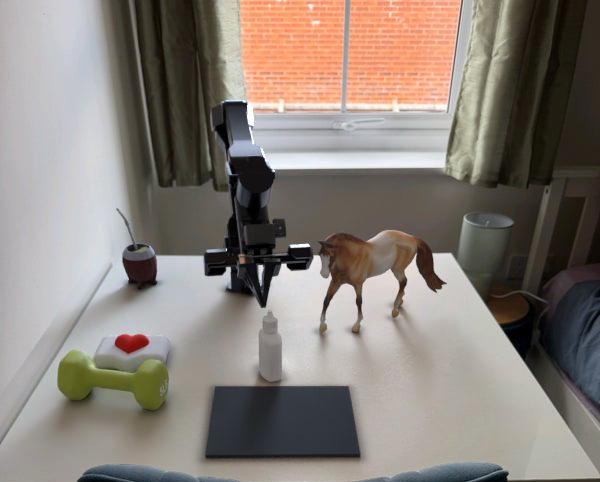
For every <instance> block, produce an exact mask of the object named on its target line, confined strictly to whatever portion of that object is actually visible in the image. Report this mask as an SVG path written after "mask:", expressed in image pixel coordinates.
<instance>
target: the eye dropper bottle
mask: <svg viewBox="0 0 600 482" xmlns="http://www.w3.org/2000/svg"><path fill="white" fill-rule="evenodd" d="M278 321H279V319H278V317H277V316H275V315H274V313H273V310H272V309H268V310H267V312H266V315H265V316H263V317H262V327H261V328H260V329H259V331H258V371H259V374H260V375H261V377H262V378H263V379H265V380H266V381H267V382H269V383H273V382H279V381H281V380H282V379H283V378H282V377H283V337H282V335H281V333H280V331H279V329H278V326H279V325H278Z"/></svg>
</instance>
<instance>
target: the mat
mask: <svg viewBox="0 0 600 482" xmlns="http://www.w3.org/2000/svg"><path fill="white" fill-rule="evenodd" d="M210 411H211V412H210V418H209V424H208V433H207V440H206V448H205V453H204V456H205V459H251V458H252V459H255V458H256V459H258V458H259V459H261V458H263V459H265V458H267V459H271V458H273V459H275V458H281V459H282V458H360V457H361V450H360V444H359V438H358V433H357V426H356V421H355V417H354V409H353V404H352V398H351V392H350V387H349V386H348V385H231V386H230V385H219V386H218V385H215V386H214V390H213V396H212V404H211V410H210Z"/></svg>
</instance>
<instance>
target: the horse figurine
mask: <svg viewBox="0 0 600 482" xmlns="http://www.w3.org/2000/svg"><path fill="white" fill-rule="evenodd" d="M317 243H318V244H319V245H321V247H320V249H319V251H318V253H317V254H318V257H319V258H320V263H321V267H320V268H321V269H320V270H319V274H320V276H321V277H322V278H323V279H329V277H331V280H330V282H329V285H328V287H327V291H326V295H325V296H324V299H323V303H322V310H321V313H320V317H319V322H320V323H319V326H318V327H319V328H318V329H319V333H322V334H323V333H325V332H326V331H327V330H328V324H327V323H326V320H327V319H326V315H327V311H328V308H329V306H330V304H331V301H332V300H333V299H334V296H335V295H336V293H338V291H339V290H340V288H341V287H342V286H343V285H346V284H347V285H349V286H352V287H353V290H354V292H355V296H356V297H355V305H356V307H357V319H356V321H355V322H354V323H353V325H352V326H351V327H352V328H351V332H353V333H357V332H359V331H360V330H361V327H362V326H361V322H362V321H363V319H364V315H363V309H362V307H363V285H364V283H365V282H366V281H367V280H368V279H370V278H375V277H378V276H381V275H384V274H385V273H386V272H388V271H389V270H390V271H391V273H392V274H393V276H394V277H395V279H396V280H397V281H398V292H397V294H396V296H395V299H394V301H393V308H392V310H391V317H392V319H397V318H398V317H399V316H400V308H399V307H401V306H402V305H403V304H404V299H403V297H404V296H405V294H406V292H405V289H406V287H407V285H408V277H407V276H406V274H405V273H406V271H405V270H406V269H407V268H408V267H409V266H410V264H411V263H412V262H413V261H414V259H415V265H416V268H417V270H418V273H419V275H420V276H421V277H422V278H423V280H424V281H425V282H424V283H425V284H426V286H427V288H428V289H430V290H431V291H432V292H434V293H435V294H437V293H438V291H439V290H442V289H443V286H444V285H448V282H446V281H444V280H442V278H441V277H439V275H438V274H437V273H436V271H435V263H434V255H433V251H432V249H431V247H430V246H429V245H428V244H427V242H426V241H424V240H423V239H422V238H420V237H418V236H416V235H412V234H411V235H410V234H408V233H406V232H404V231H401V230H395V229H386V230H383V231H381V232H379V233H377V234H376V235H375V236H373V237H372V238H370V239H368V240H365V239H363V238H360V237H359V236H356V235H354V234H352V233H350V232H347V231H337V232H334V233H333V234H331V235H329V236H328V237H327V238H325V240H318V241H317Z"/></svg>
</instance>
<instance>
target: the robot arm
mask: <svg viewBox="0 0 600 482" xmlns="http://www.w3.org/2000/svg"><path fill="white" fill-rule="evenodd" d="M253 114H254V113H253V107H252V106H251V105H249V104H248V101H247V100H244V99H224V100H223V101H220V104H218V105H216V106H213V107H212V108H210V114H209V117H210V129H211V130H210V131H211V133H213V132H214V137H215V144H216V145H217V146H218V147H219V149H220V150H221V151H222V152H223V154H224V159H225V161H224V177H225V182H226V184H227V186H228V195H229V203H230V204H229V205H230V212H231V213H230V214H231V216H230V217H229V219H228V221H227V224H226V231H225V235H224V236H223V241H222V242H223V243H222V248H214V249H211V248H210V249H205V251H204V252H203V254H202V256H203V257H202V258H203V259H202V260H203V261H202V262H203V274H204V276H205V277H220V276H223V275H224V274H225V273H226V272H227V268H230V271H229V273H230V275H229V276H230V283H228V284H227V285H225V290H227V291H230V292H231V291H232V292H235V293H238V294H242V295H243V294H244V295H247V296H254V298H255V299H256V301H257V303H258V305H259V307H260V308H261V309H266V308H267V306H268V305H267V304H268V299H269V294H270V288H271V284H272V280H273V277H278V276H279V274H280V272H281V268H282V265H286V268H287V269H288V270H289V271H290V272H297V271H298V272H301V271H307V270H309V269H310V268H311V265H312V263H313V261H314V258H315V256H314V250H313V247H312V246H311V245H310V244H309V243H302V244H289V245H288V247H287V250H286V251H285V252H282V251H281V252H274V250H276V247H277V245H276V244H277V239H285V238H287V225H286V218H285V217H277V218H275V217H274V218H273V219H272V223H271V222H270V214H269V205H268V204H269V202H270V200H271V196H272V192H273V191H272V190H273V186H274V181H275V180H276V171H275V170H274V168H273V167H272V165H271V164H270V162H269V160H268V159H266V157H265V154H264V153H265V152H264V151H263V148H261V147H260V146H259V145H257V144H256V143H254V138H253V134H252V131H253V129H254V115H253ZM260 266H262V272H261V280H260V275H259V274H260Z"/></svg>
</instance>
